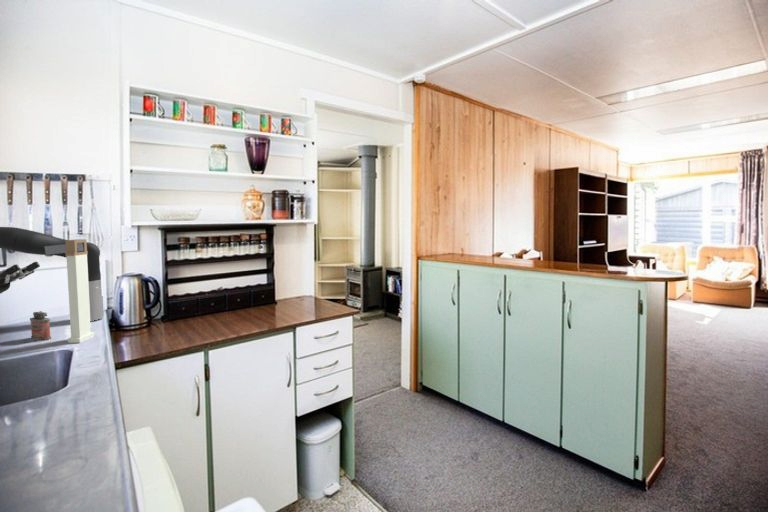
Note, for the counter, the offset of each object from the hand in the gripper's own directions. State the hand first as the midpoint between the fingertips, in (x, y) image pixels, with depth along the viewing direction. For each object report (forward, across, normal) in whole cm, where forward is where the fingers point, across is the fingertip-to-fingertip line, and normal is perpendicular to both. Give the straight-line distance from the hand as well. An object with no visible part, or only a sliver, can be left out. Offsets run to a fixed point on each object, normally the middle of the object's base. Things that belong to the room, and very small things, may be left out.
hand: (28, 265), depth 144 cm
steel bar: (+13, 0, +2) cm, 14 cm away
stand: (+1, 0, +32) cm, 32 cm away
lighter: (-12, +1, +25) cm, 27 cm away
